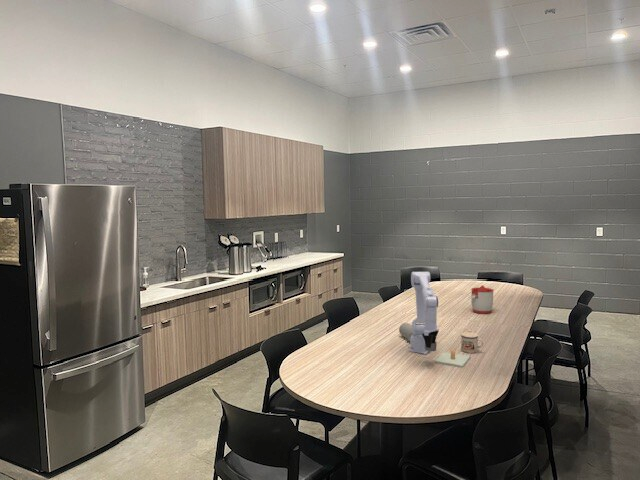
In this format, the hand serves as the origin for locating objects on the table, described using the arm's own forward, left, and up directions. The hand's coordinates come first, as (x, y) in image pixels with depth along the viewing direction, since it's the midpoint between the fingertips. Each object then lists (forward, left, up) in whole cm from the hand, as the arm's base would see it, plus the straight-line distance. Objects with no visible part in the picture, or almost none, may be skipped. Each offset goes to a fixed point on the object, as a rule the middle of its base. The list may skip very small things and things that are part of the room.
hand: (430, 345), depth 241 cm
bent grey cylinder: (-20, +35, -10) cm, 42 cm away
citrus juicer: (-1, +122, -10) cm, 122 cm away
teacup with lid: (+14, +31, -10) cm, 35 cm away
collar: (0, 0, -2) cm, 2 cm away
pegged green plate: (+9, +11, -9) cm, 17 cm away
